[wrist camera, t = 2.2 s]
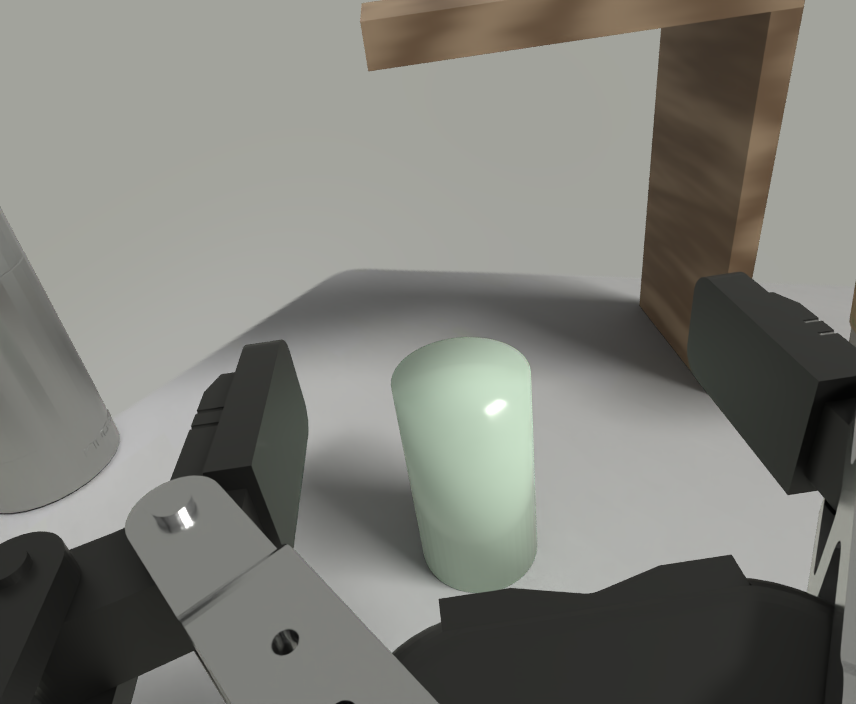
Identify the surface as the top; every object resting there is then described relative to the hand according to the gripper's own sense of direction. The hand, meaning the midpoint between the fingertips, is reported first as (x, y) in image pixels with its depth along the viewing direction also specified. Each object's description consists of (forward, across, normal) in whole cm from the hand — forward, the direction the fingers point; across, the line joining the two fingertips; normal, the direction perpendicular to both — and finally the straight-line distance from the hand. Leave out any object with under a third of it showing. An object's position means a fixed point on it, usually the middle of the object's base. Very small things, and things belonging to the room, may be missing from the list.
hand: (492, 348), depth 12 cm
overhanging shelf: (+26, -8, +19) cm, 34 cm away
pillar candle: (+12, 0, +20) cm, 23 cm away
